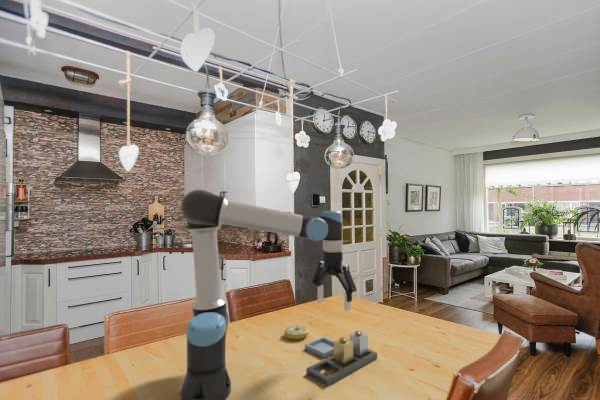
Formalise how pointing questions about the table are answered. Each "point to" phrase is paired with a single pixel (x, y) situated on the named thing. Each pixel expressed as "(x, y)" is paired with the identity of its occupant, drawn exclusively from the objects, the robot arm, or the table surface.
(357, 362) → the rail
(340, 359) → the gold block with knob
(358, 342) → the grey knobbed block
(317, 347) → the parts tray
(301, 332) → the decorated donut
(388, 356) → the table surface
